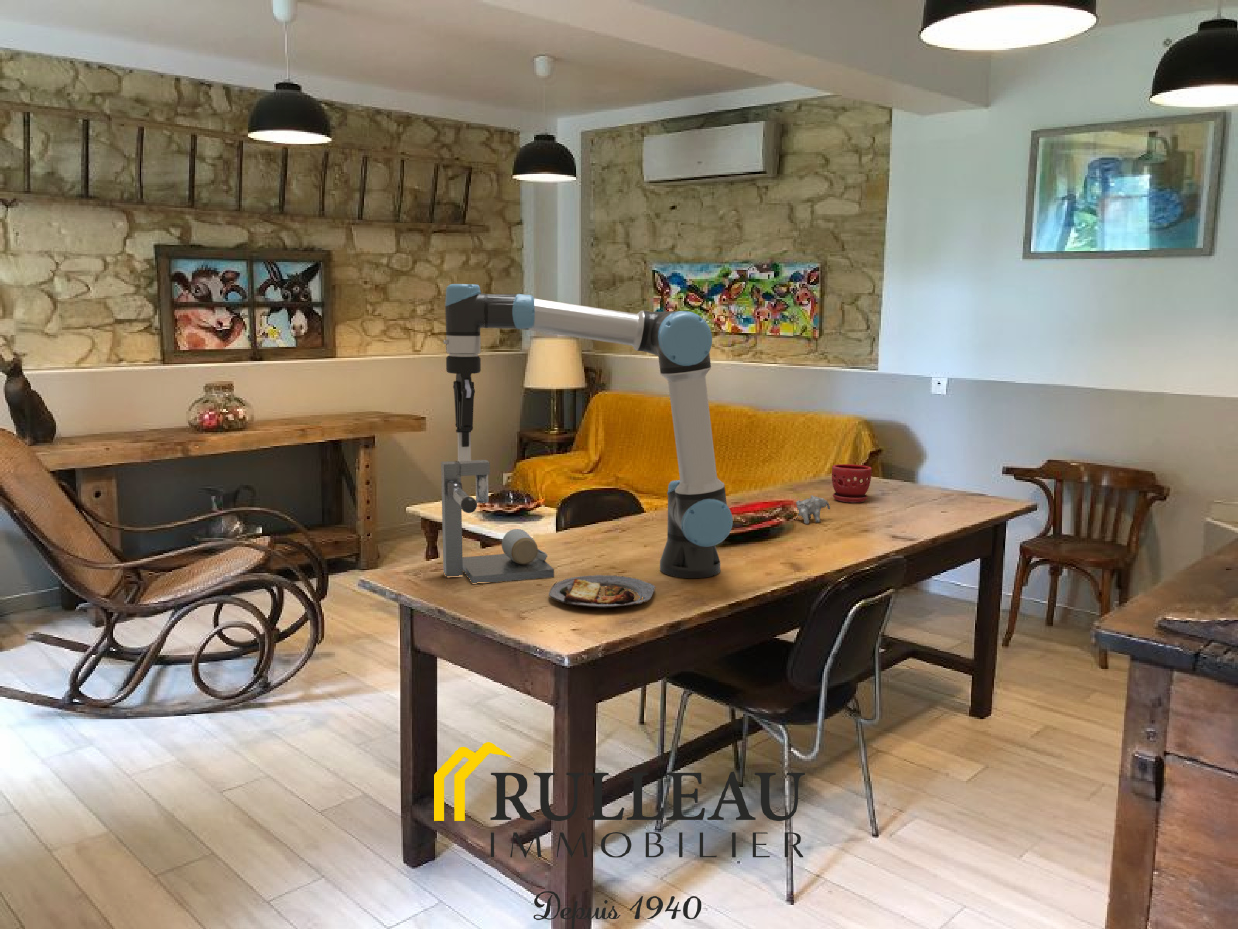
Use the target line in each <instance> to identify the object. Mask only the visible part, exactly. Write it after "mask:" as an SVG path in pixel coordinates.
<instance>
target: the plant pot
mask: <svg viewBox="0 0 1238 929" xmlns="http://www.w3.org/2000/svg"><path fill="white" fill-rule="evenodd" d="M831 468H832V469H831V483H832V488H833V490H834V493H832V497H833V498H834V500H836V501H838V502H842V503H848V504H854V503H855V504H858V503H863V502H865V501H867V499H868V497H869V496H868V495H867V492H868V491H869V488H870V486H871V479H872V474H873V473H872V472H873V471H872V467H871V466H869V465H868V466H867V465H861V464H853V463H852V464H849V463H848V464H845V463H841V464H833V465H832V466H831ZM855 478H856V480H855ZM861 480H862V482H861Z"/></svg>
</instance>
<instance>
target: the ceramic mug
mask: <svg viewBox="0 0 1238 929" xmlns="http://www.w3.org/2000/svg"><path fill="white" fill-rule="evenodd" d="M501 549H502V552H503V554H506V555H507V556H508V557H509V558H510V559H512V560H513V561H514V562H516V563H518V564H522V565H523V564H529V563H530V562H532V561H533V560H534V559H535V558H537V559H540V560H543V561H546V560H547V559H548V553H546V552H545V551H542V550H541V549H539V548H538V545H537V542H536V540H534V538H533V537H531V536H530V534H529V533H528V532H527V531H525V530H524V529H520V528H513V529H510V530H508V531H507V532H506V533H505V535H504V536H503V538H502V541H501Z"/></svg>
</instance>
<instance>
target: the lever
mask: <svg viewBox="0 0 1238 929" xmlns="http://www.w3.org/2000/svg"><path fill="white" fill-rule="evenodd" d="M447 496H448V499H449V500H451V499H455V500H456V501H457V502H458V504H459V505H460V506H461V509H462V511H463V513H466V514H472V513H474V512H475V511H476V510H477V508H478V503H477V502H476V498H474V497H472V496H470V495H468V494H467V493H466V492H465V491H464V489H463V484H462V481H461V482H452V483H447Z"/></svg>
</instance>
